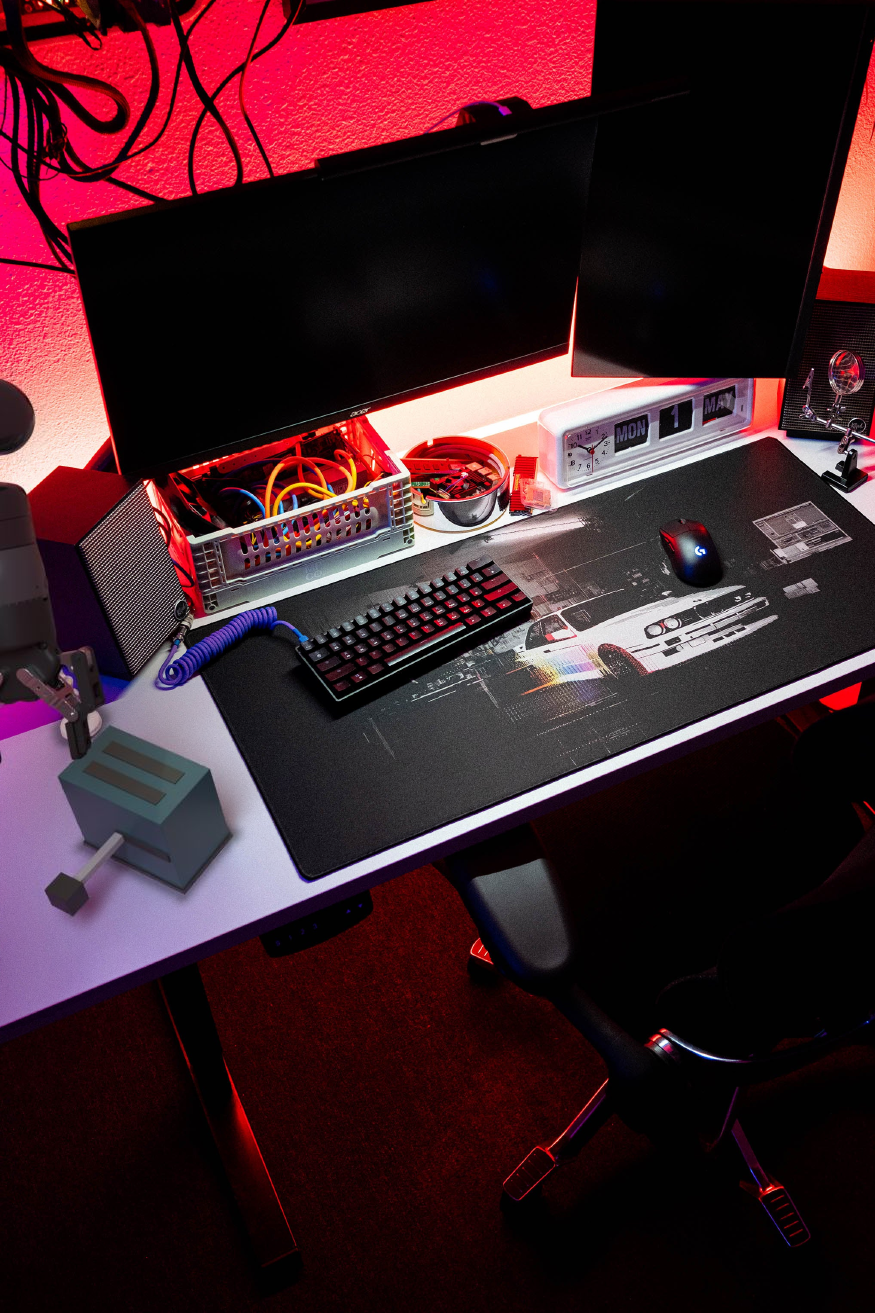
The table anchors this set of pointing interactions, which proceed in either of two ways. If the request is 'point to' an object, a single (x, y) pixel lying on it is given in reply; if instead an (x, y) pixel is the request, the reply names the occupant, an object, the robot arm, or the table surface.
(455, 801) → the table surface
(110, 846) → the slider
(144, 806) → the toaster
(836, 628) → the table surface
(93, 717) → the chess piece
